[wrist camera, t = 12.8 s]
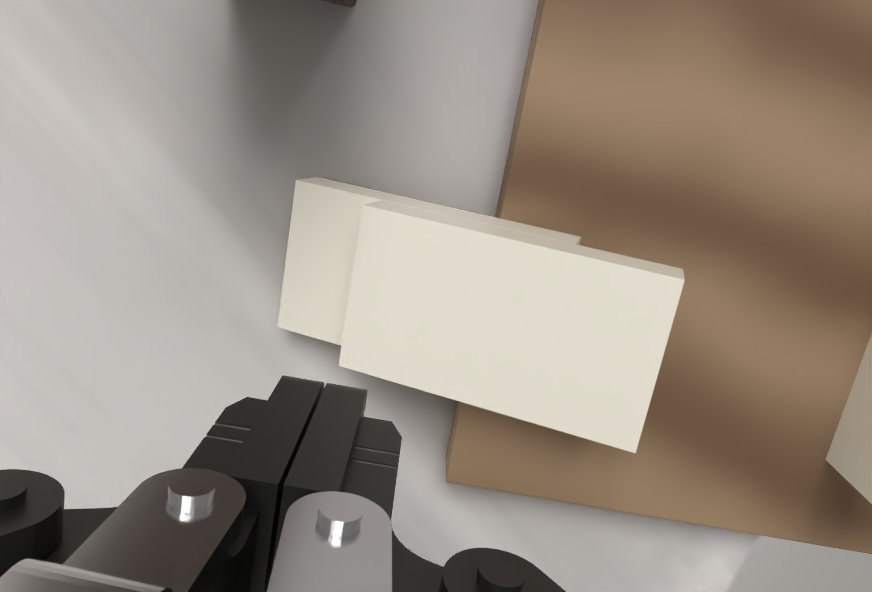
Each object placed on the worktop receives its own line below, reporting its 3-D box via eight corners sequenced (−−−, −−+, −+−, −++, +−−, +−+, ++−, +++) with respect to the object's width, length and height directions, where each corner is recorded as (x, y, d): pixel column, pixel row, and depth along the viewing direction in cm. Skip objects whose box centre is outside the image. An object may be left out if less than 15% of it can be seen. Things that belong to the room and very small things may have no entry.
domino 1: (545, 385, 23) (299, 315, 25) (581, 236, 22) (318, 177, 24) (538, 402, 22) (277, 327, 24) (575, 244, 20) (295, 179, 23)
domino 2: (637, 430, 21) (359, 351, 23) (683, 268, 20) (382, 200, 22) (635, 453, 20) (338, 365, 22) (684, 279, 18) (362, 204, 20)
